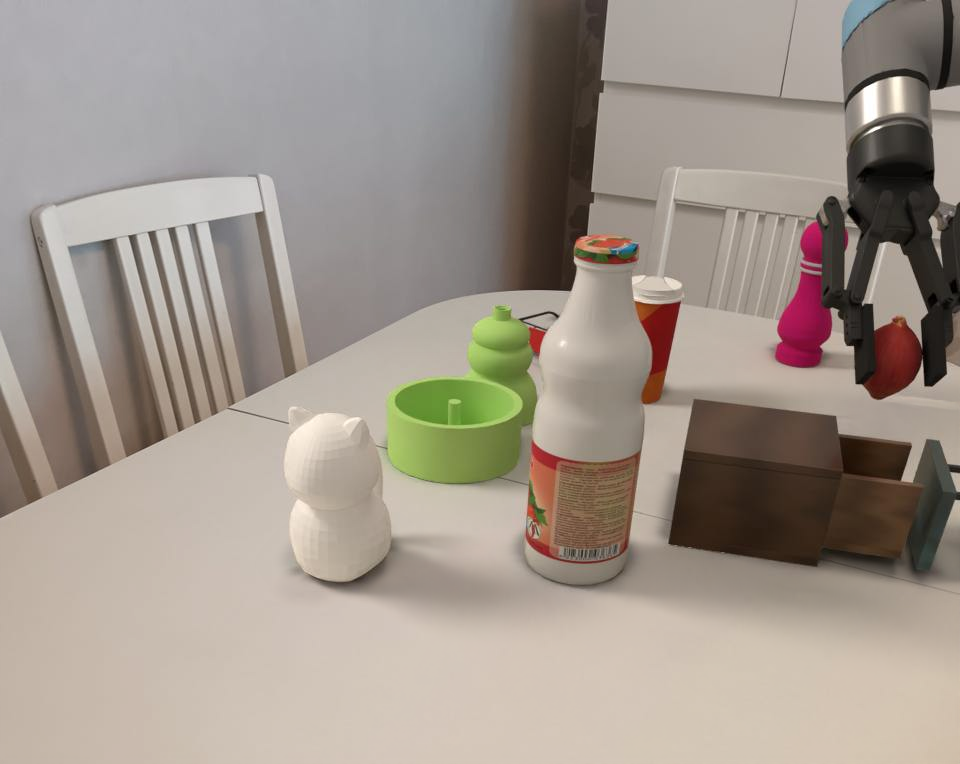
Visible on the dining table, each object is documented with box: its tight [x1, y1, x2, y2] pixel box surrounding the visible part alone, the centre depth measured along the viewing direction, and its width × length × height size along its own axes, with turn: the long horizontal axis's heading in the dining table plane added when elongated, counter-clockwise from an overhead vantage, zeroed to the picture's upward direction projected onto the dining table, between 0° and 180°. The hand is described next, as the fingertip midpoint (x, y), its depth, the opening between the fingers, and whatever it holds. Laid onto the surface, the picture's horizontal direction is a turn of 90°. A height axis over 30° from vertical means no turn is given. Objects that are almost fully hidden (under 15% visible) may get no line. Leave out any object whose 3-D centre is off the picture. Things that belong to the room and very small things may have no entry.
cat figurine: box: [283, 405, 392, 583], centre depth 84 cm, size 9×12×15 cm
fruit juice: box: [524, 234, 652, 586], centre depth 81 cm, size 9×9×28 cm
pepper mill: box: [774, 220, 849, 368], centre depth 130 cm, size 7×7×20 cm
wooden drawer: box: [822, 433, 960, 572], centre depth 91 cm, size 18×12×8 cm, turn 76°
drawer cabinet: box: [667, 398, 843, 567], centre depth 93 cm, size 14×13×10 cm
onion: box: [853, 314, 923, 401], centre depth 90 cm, size 6×6×8 cm
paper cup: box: [632, 274, 685, 405], centre depth 119 cm, size 8×8×14 cm
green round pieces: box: [385, 304, 538, 484], centre depth 108 cm, size 25×15×13 cm, turn 157°
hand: (900, 378), depth 87 cm, fingers closed on onion, 6 cm apart
